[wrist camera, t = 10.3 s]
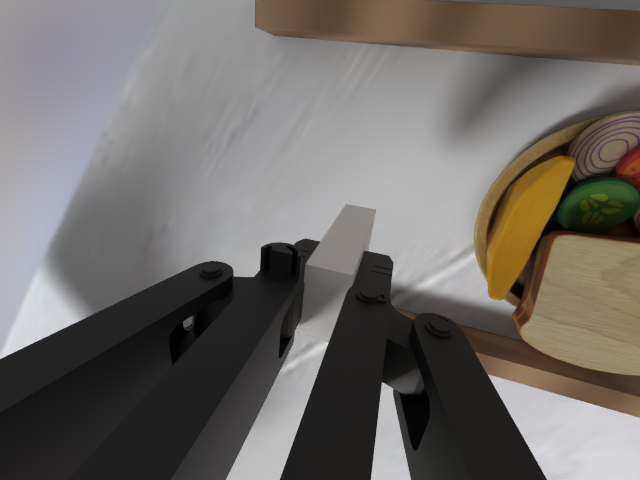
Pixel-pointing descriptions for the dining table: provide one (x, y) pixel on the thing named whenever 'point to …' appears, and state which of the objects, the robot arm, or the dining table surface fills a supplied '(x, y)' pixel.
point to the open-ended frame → (498, 38)
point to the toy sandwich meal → (570, 243)
